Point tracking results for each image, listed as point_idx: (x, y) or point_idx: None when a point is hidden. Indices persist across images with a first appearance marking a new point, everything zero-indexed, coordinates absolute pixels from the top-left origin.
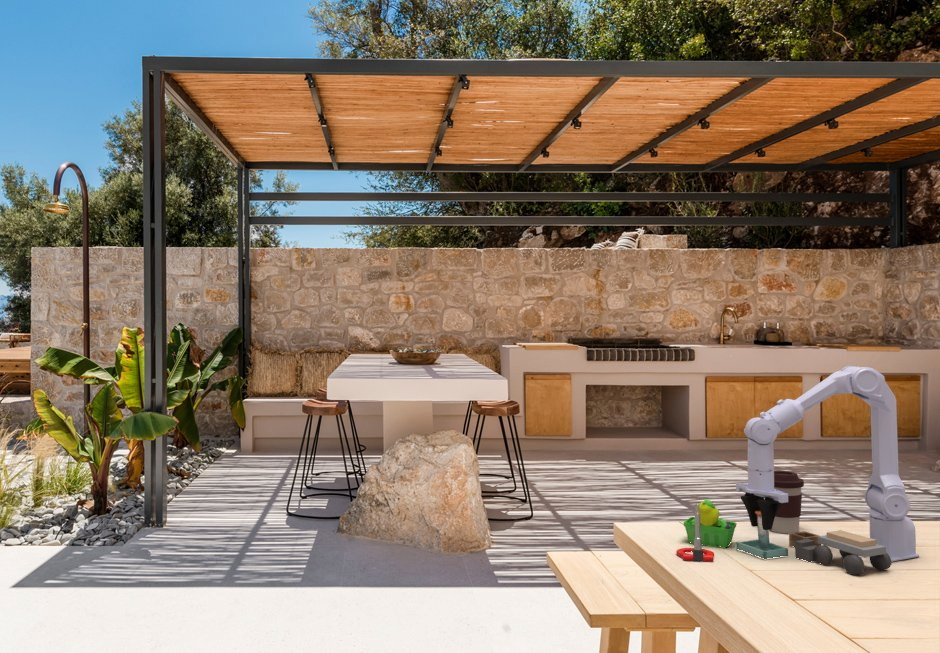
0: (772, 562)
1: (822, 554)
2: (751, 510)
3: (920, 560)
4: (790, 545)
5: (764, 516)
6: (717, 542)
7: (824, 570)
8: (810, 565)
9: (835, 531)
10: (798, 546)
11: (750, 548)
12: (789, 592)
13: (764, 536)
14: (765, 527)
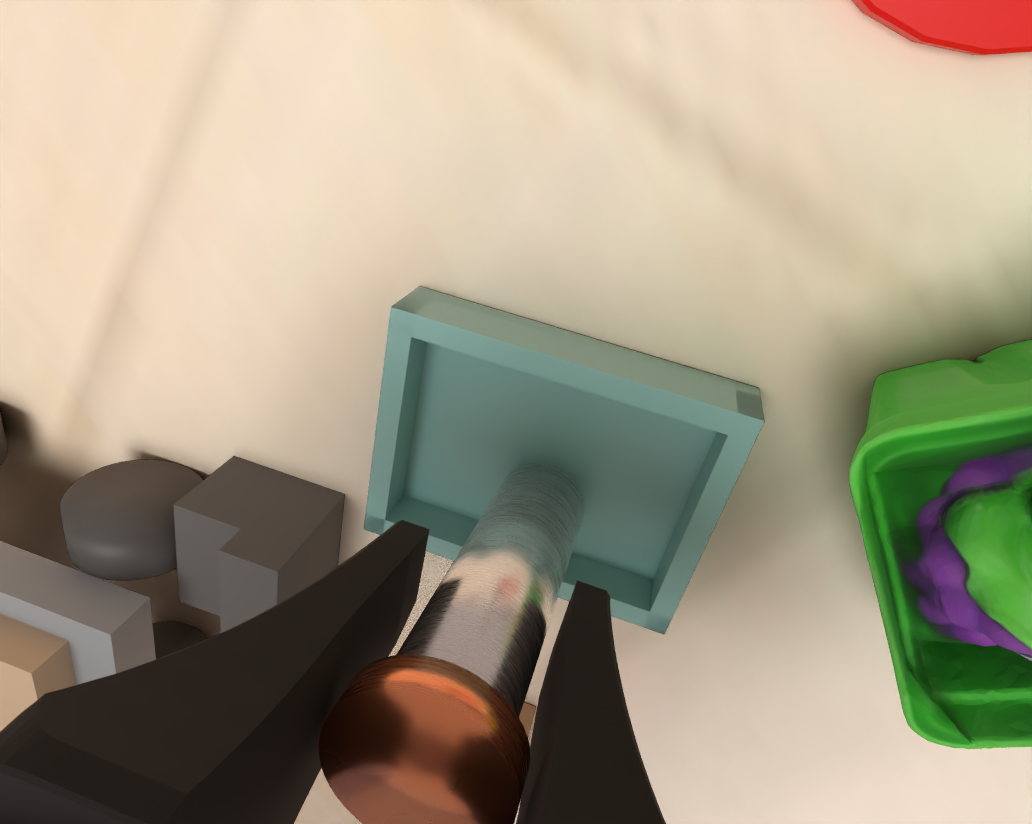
0: (350, 276)
1: (109, 495)
2: (550, 745)
3: None
4: (523, 707)
5: (288, 605)
6: (987, 366)
7: (84, 367)
8: (189, 406)
9: None
10: (265, 537)
11: (569, 356)
12: None
13: (479, 524)
14: (379, 536)
